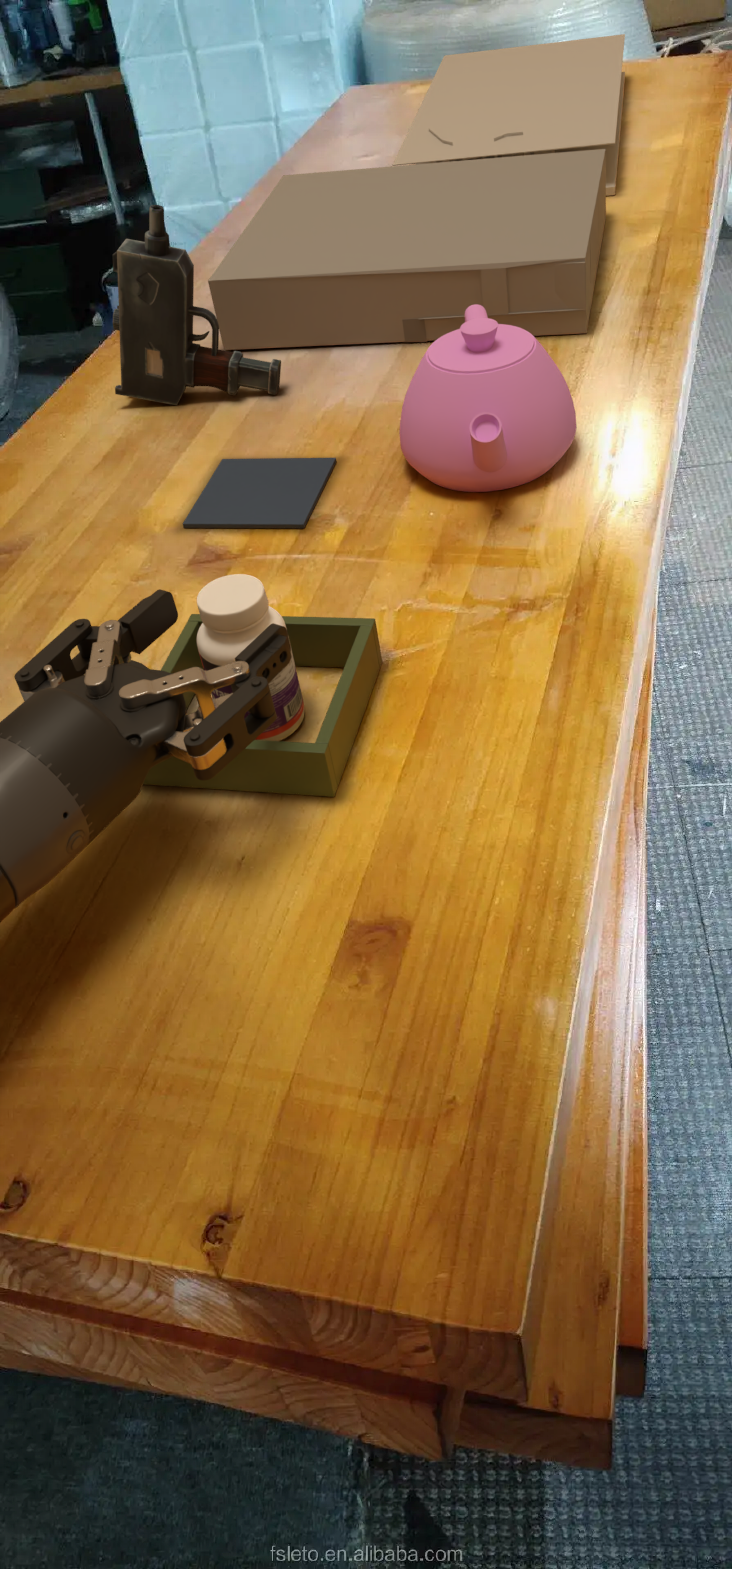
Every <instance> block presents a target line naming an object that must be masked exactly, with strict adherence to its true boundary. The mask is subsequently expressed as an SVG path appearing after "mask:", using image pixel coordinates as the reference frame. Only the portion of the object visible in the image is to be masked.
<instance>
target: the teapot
mask: <svg viewBox="0 0 732 1569" xmlns="http://www.w3.org/2000/svg"><path fill="white" fill-rule="evenodd" d="M576 413H577V412H576V408H575V404H574V401H573V397H572V393H571V391H570V388H569V385H568V383H567V381H566V379H565V377H564V375H563V374H562V372H561V370H560V369H559V367H558V365H557V364H556V362H555V361H554V359H553V358H552V357H551V355H550V354H549V353H548V351H547V350H546V349H545V347H544V346H543V345H542V343H541V342H540V341H539V340H538V339H537V338H536V336H533V335H532V334H531V333H529V332H528V331H526V330H524V329H522V328H519V327H516V326H512V325H505V324H498V323H497V321H495V320H493V319H489V318H488V317H487V313H486V310H485V308H484V307H483V306H481V305H478V304H475V305H471V306H469V307H468V308H467V309H466V311H465V323H463V324H462V325H461V327H460V329H458V330H455V331H452V332H450V333H447V334H445V335H443V336H441V337H440V338H438V339H437V340H434V341H433V342H432V343H431V344H430V346H428V348H427V349H426V351H425V352H424V354H423V356H422V358H421V359H420V361H419V363H418V365H417V367H416V370H415V371H414V374H413V376H412V377H411V380H410V382H409V385H408V388H407V390H406V393H405V395H404V399H403V403H402V406H401V413H400V421H399V431H398V432H399V444H400V450H401V452H402V455H403V456H404V458H405V460H406V461H407V463H408V464H409V466H411V467H412V468H413V469H414V470H415V471H417V472H418V473H419V474H420V475H421V476H423V477H424V478H426V479H427V480H428V481H429V482H431V483H433V484H435V485H437V486H439V487H441V488H442V487H443V488H445V489H447V490H453V491H458V492H464V493H465V492H468V493H485V492H496V491H502V490H508V489H512V488H515V487H518V486H519V487H520V486H522V485H525V484H527V483H531V482H532V481H534V480H537V479H538V478H540V477H541V476H543V475H545V474H546V473H547V472H549V471H550V470H551V469H552V468H553V467H554V466H555V465H556V463H558V462H559V461H560V460H561V459H562V458H563V456H564V455H565V454H566V453H567V451H568V450H569V448H570V447H571V446H572V443H573V441H574V439H575V436H576V434H577V418H576V417H577V414H576Z"/></svg>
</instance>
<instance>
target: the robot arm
mask: <svg viewBox="0 0 732 1569" xmlns="http://www.w3.org/2000/svg"><path fill="white" fill-rule="evenodd" d="M178 618H179V613H178V608H177V605H176V602H175V599H174V596H173V594H172V592H170V591H167V590H164V589H156V590H155V591H154V592H153V593H152V594H151V595H149V596H147V597H145V598H144V597H143V598H142V599H141V600H140V601H139V602H138V603H137V604H135V605H134V606H133V607H132V608H131V609H129V610H128V611H127V612H126V613H124V615H122V616H121V617H120V618H119V619H117V620H116V619H109V620H106V621H104V622H102V623H101V624H100V625H92V623H91V621H90V620H89V619H88V618H79V619H76V620H74V621H73V622H71V623H69V625H68V626H67V627H66V628H64V629H63V630H62V631H61V632H60V633H59V634H58V635H57V636H56V637H55V638H54V639H52V640H51V641H50V642H49V643H48V644H47V645H46V646H44V647H43V648H42V649H40V651H39V652H38V653H37V654H36V655H35V656H34V657H32V658H31V659H30V660H28V662H27V663H26V664H24V666H22V667H21V668H20V669H19V670H18V671H17V672H16V673H15V674H14V678H13V679H14V680H15V682H16V685H17V687H18V691H19V693H20V695H21V697H22V699H23V702H22V703H21V704H20V705H19V706H17V707H16V708H15V709H13V711H11V712H10V713H9V714H8V715H6V716H5V717H4V718H3V719H2V720H1V721H0V924H1V923H3V921H5V919H6V918H7V917H8V916H9V915H11V913H13V911H14V910H15V909H16V908H18V907H19V906H20V905H21V904H22V903H23V902H25V901H26V900H28V898H30V897H31V896H32V895H34V894H35V893H37V892H38V891H39V890H41V889H43V888H44V887H45V886H46V885H48V884H49V883H50V882H51V881H53V879H54V878H56V876H58V875H59V874H60V873H61V872H62V871H63V870H64V869H65V868H66V867H67V866H69V865H70V864H71V862H72V861H73V860H74V859H75V858H76V857H77V856H78V855H79V854H80V853H81V852H83V850H84V849H85V848H86V847H88V846H89V845H90V843H92V842H93V840H95V839H96V838H97V837H98V836H99V835H100V834H101V833H102V832H103V831H104V830H105V829H106V828H107V827H108V826H109V825H110V824H111V823H112V822H113V821H114V820H115V819H116V818H118V816H119V815H121V813H122V812H124V810H126V808H127V807H128V806H129V805H131V804H132V803H133V802H134V801H135V800H136V799H137V797H138V796H139V795H140V792H141V790H142V788H143V785H144V784H143V782H144V780H145V778H146V775H147V773H148V772H149V770H150V769H151V768H152V767H153V766H155V765H157V764H158V763H160V762H162V761H164V760H167V759H169V758H171V757H173V756H174V757H176V758H178V759H181V760H183V761H185V762H187V763H189V764H191V765H192V768H193V771H194V774H195V776H196V778H197V779H199V780H209V779H212V778H213V777H215V776H216V775H217V774H218V773H219V772H220V771H221V770H222V769H223V768H224V767H226V766H227V765H228V764H229V763H230V762H231V761H232V760H233V759H234V758H235V757H236V756H237V755H239V754H240V753H241V752H242V751H243V750H244V749H245V748H246V747H247V746H248V745H249V744H251V743H252V742H253V741H254V740H255V739H256V738H257V737H258V736H259V735H260V734H261V733H262V732H264V731H265V730H266V729H267V728H268V727H269V726H270V725H271V724H272V723H273V722H274V721H275V720H276V718H277V715H276V712H275V708H274V704H273V700H272V696H271V692H270V688H269V683H270V682H271V681H272V680H273V679H274V678H275V677H276V676H277V675H278V673H280V672H281V671H282V670H283V668H285V667H286V666H287V665H288V664H289V663H290V660H291V658H292V656H291V647H290V642H289V638H288V634H287V630H286V628H285V627H284V626H281V625H277V624H274V623H273V624H271V625H269V626H268V627H267V628H266V629H265V630H264V631H263V632H262V633H261V634H260V635H259V636H258V637H257V638H256V639H255V640H253V641H252V642H251V643H250V644H249V645H248V646H247V647H246V648H245V649H244V650H243V651H242V652H241V653H240V654H239V655H238V656H237V657H235V661H236V662H233V663H229V664H226V665H223V666H220V667H217V668H214V669H211V670H208V671H205V670H203V669H201V668H200V667H192V668H189V669H186V670H183V671H180V672H177V673H174V674H172V673H169V672H166V671H162V670H161V669H152V668H149V667H148V666H146V665H145V664H143V663H142V662H139V661H136V660H133V659H132V653H134V654H138V655H141V654H142V653H143V652H144V651H146V650H147V648H148V647H149V646H151V645H152V644H153V643H154V642H156V641H157V640H158V639H159V638H160V637H161V636H162V635H163V634H164V633H166V632H167V631H168V630H169V629H171V627H172V626H174V625H175V624H176V623H177V621H178ZM76 647H77V649H78V651H79V652H78V653H77V654H76V655H75V656H74V657H73V658H71V654H72V653H71V652H72V651H73V650H74V649H75V648H76ZM228 685H231V688H232V691H233V693H231V694H228V695H225V696H222V697H219V698H216V699H213V698H212V695H211V693H212V691H214V690H216V689H219V688H222V687H225V686H228ZM188 691H191V692H194V693H195V694H194V695H195V697H196V701H197V703H198V707H197V709H196V710H195V711H194V712H191V713H188V714H186V712H187V710H186V703H185V700H184V697H183V693H184V692H188ZM247 711H249V712H250V714H249V715H248V716H247V717H246V718H245V719H244V716H245V713H246V712H247Z"/></svg>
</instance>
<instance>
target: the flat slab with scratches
mask: <svg viewBox="0 0 732 1569" xmlns="http://www.w3.org/2000/svg"><path fill="white" fill-rule="evenodd" d="M625 38H626V33H623V34H614V35H606V36H597V37H589V38H580V39H579V38H578V39H572V40H564V41H556V42H554V41H553V42H546V43H539V44H538V43H537V44H529V45H522V46H520V45H519V46H513V47H505V48H497V49H495V48H494V49H488V50H487V49H486V50H479V51H471V52H462V53H455V54H446V55H443V58H442V59H441V62H440V64H439V66H438V68H437V70H436V72H435V74H434V76H433V78H432V81H431V83H430V85H429V87H428V89H427V91H426V94H425V95H424V97H423V98H422V101H421V104H420V106H419V108H418V109H417V112H416V114H415V116H414V119H413V121H412V123H411V125H410V127H409V128H408V131H407V133H406V136H405V138H404V139H403V141H402V143H401V146H400V147H399V150H398V152H397V154H396V156H395V159H394V161H393V163H392V166H403V165H415V164H427V163H439V162H451V161H464V160H476V159H488V158H500V157H512V156H524V155H537V154H549V153H561V152H573V151H585V150H597V149H606V197H607V196H615V195H616V188H617V177H618V176H617V175H618V165H619V164H618V163H619V152H620V142H621V140H620V139H621V128H622V117H623V106H624V94H625V84H626V83H625V82H626V71H622V70H623V62H624V49H625Z"/></svg>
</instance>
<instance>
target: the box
mask: <svg viewBox="0 0 732 1569" xmlns="http://www.w3.org/2000/svg"><path fill="white" fill-rule="evenodd" d="M606 220H607V196H606V149H597V150H585V151H573V152H561V153H549V154H537V155H524V156H512V157H500V158H488V159H476V160H464V161H451V162H439V163H427V164H406V165H396V166H393V165H391V166H381V167H380V166H379V167H367V168H355V169H354V168H353V169H343V170H330V171H319V172H308V173H307V172H306V173H305V172H304V173H294V174H284V175H282V176H281V178H280V179H279V181H278V182H277V184H276V185H275V186H274V188H273V189H272V191H270V192H269V195H268V196H267V197H266V199H265V200H264V202H263V203H262V205H261V206H260V207H259V208H258V210H257V211H256V212H255V214H254V216H253V217H252V218H251V220H250V221H249V222H248V224H247V225H246V226H245V228H244V230H243V231H242V232H241V234H240V235H239V236H238V238H237V239H236V241H235V242H234V244H233V245H232V247H231V248H230V249H229V250H228V252H227V253H226V254H225V255H224V258H223V259H222V260H221V262H220V263H219V264H218V266H217V267H216V269H215V270H214V271H213V273H212V274H211V276H210V277H209V279H208V280H207V284H208V287H209V291H210V297H211V300H212V305H213V309H214V313H215V314H214V315H215V317H216V318H217V321H218V324H219V336H220V339H221V344H222V347H223V350H225V351H231V350H233V351H236V350H254V349H255V350H257V349H274V348H275V349H276V348H296V347H299V348H300V347H321V346H340V345H343V346H344V345H360V344H361V345H363V344H364V345H365V344H382V343H383V344H385V343H427V342H428V341H429V342H430V341H436V340H437V339H438V338H440V337H441V336H443V335H445V334H447V333H450V332H452V331H455V330H458V329H460V327H461V325H462V324H463V323H465V311H466V309H467V308H468V307H469V306H471V305H475V304H478V305H481V306H483V307H484V308H485V310H486V313H487V317H488V318H489V319H493V320H495V321H497V323H498V324H505V325H512V326H516V327H519V328H522V329H524V330H526V331H528V332H529V333H531V334H532V335H533V336H534V337H536V336H556V335H557V336H558V335H575V334H576V335H579V334H587V333H588V327H589V322H590V316H591V309H592V304H593V297H594V293H595V292H594V291H595V285H596V279H597V273H598V268H599V261H600V255H601V249H602V243H603V239H604V238H603V236H604V231H605V224H606Z"/></svg>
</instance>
